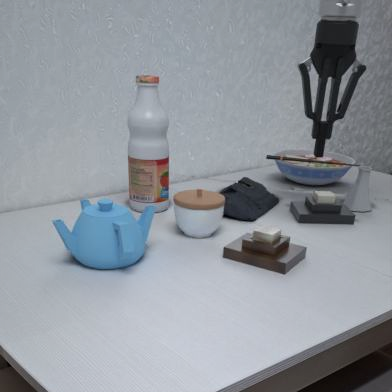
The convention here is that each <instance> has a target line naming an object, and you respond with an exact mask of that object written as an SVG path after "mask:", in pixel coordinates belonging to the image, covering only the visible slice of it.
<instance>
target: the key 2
mask: <svg viewBox="0 0 392 392" xmlns="http://www.w3.org/2000/svg"><path fill="white" fill-rule="evenodd" d="M312 196H313V200H314V201H315V202H316V203H331V204H334V201H335V198H336V194H334V193H333V192H332V191H329V190H314V191H313V195H312Z"/></svg>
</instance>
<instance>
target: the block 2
mask: <svg viewBox="0 0 392 392" xmlns="http://www.w3.org/2000/svg"><path fill="white" fill-rule="evenodd" d="M313 196H314V195H305V199H304V200H302V201H301V200H290V203H289V204H290V205H289V211H290V213H291V214H292V216H293V218H294V219H295V220H296V222H297V224H304V225H305V224H307V225H312V224H313V225H354V224H355V221H356V214H355V213H354V211H351V210H350V209H349V208H348V207H347V206H346V205H345V204H344V203H343V202H344V201H342V202H341V201H339V200H338V199H337V198H336V197H335V201H334V204H331V203H316V202H315V201H314V200H313Z"/></svg>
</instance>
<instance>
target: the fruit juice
mask: <svg viewBox="0 0 392 392" xmlns="http://www.w3.org/2000/svg"><path fill="white" fill-rule="evenodd" d="M135 84H136V86H137V92H136V98H135V100H134V103H133V106H132V108H131V109H130V111H129V112H128V114H127V120H126V122H127V123H126V124H127V128H128V132H129V139H128V141H127V169H128V196H129V206H130V209H132V211H136V212H139V213H143V211H144V209H145V208H146V206H148V205H154V206H155V207H156V209H155V213H161V212H164V211H167V209H169V205H170V144H169V141H168V137H167V135H168V130H169V126H170V123H169V116H168V114H167V112H166V110H165V109H164V108H163V105H162V104H161V100H160V96H159V91H158V90H159V88H158V87H159V85H160V76H159V75H152V74H151V75H150V74H139V75H138V74H137V75H136V76H135Z"/></svg>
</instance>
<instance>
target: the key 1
mask: <svg viewBox="0 0 392 392" xmlns="http://www.w3.org/2000/svg"><path fill="white" fill-rule="evenodd" d="M252 233H253V240H257V241H261V242H265V243H269V244H274V243H275V242H277V241H278V240H279V239H280V237H281V235H282V228H278V227H273V226H269V225H264V224H261V226H259V227H257V228H255V229H254V230H253V231H252Z"/></svg>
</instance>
